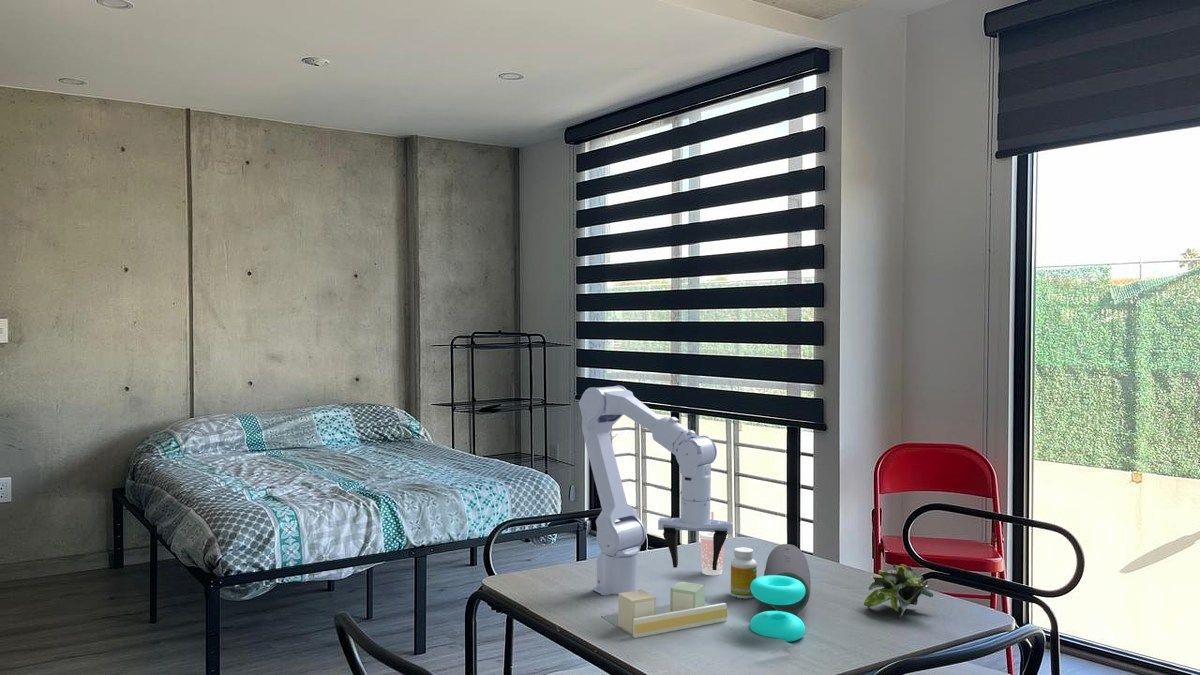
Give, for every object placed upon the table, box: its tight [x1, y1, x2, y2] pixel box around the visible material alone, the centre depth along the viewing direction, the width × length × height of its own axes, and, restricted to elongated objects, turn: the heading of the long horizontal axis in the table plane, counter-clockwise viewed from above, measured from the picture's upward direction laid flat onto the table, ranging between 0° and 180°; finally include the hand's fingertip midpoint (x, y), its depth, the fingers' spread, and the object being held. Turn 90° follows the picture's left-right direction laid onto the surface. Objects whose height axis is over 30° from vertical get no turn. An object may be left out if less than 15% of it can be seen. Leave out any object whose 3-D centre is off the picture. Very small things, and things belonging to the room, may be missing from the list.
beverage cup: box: [698, 511, 725, 576], centre depth 202 cm, size 6×6×14 cm
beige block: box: [617, 589, 657, 634], centre depth 162 cm, size 5×5×6 cm
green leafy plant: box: [863, 563, 934, 619], centre depth 175 cm, size 11×11×12 cm
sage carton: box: [669, 581, 706, 612], centre depth 167 cm, size 5×5×6 cm
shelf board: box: [600, 602, 728, 639], centre depth 167 cm, size 13×20×4 cm, turn 118°
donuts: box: [749, 575, 806, 643], centre depth 162 cm, size 10×10×10 cm
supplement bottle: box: [730, 546, 758, 600], centre depth 185 cm, size 5×5×10 cm
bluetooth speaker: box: [763, 543, 811, 615], centre depth 181 cm, size 23×9×10 cm, turn 168°
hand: (694, 567), depth 173 cm, fingers open, 7 cm apart
